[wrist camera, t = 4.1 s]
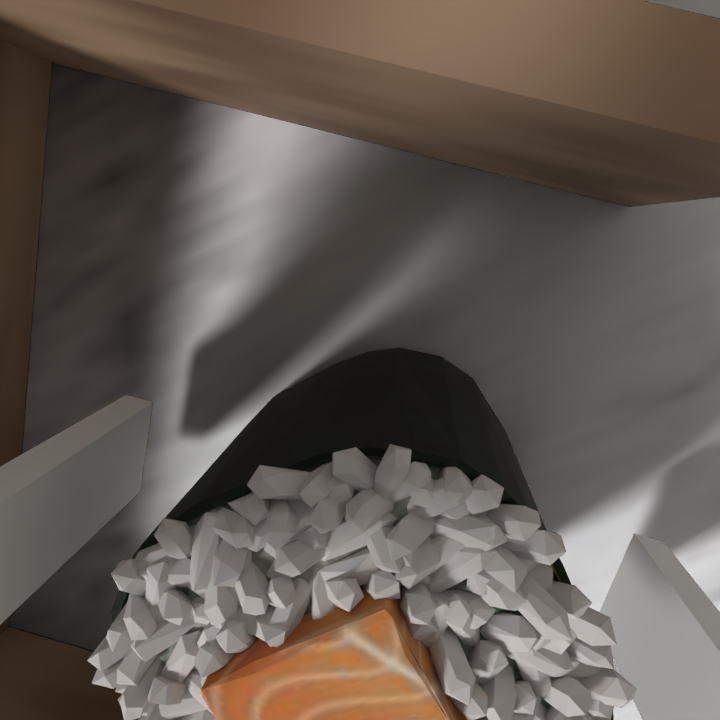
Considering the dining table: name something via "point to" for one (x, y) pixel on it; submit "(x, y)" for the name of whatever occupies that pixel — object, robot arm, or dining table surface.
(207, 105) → the dining table surface
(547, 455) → the dining table surface
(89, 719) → the frame
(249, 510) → the sushi
